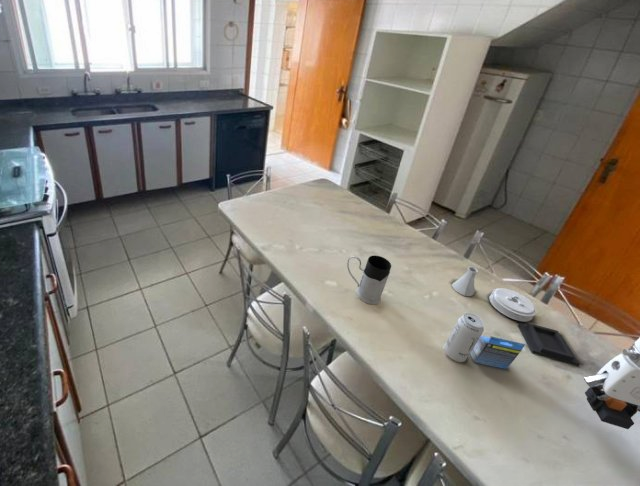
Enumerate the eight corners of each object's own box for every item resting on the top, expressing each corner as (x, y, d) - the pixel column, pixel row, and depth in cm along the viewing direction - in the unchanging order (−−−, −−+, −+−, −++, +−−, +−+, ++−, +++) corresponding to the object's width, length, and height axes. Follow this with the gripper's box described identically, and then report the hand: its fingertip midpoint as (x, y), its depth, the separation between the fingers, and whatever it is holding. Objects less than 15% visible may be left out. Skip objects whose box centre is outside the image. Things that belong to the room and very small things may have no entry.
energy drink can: (458, 368, 94) (479, 332, 87) (438, 351, 99) (457, 316, 92) (468, 358, 97) (490, 324, 90) (448, 343, 102) (467, 308, 95)
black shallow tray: (559, 336, 107) (563, 331, 106) (578, 366, 98) (583, 361, 97) (517, 325, 110) (520, 319, 109) (531, 352, 101) (535, 347, 100)
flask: (461, 281, 128) (471, 261, 123) (478, 294, 122) (489, 274, 117) (447, 284, 126) (457, 264, 121) (463, 298, 120) (474, 277, 115)
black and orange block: (608, 399, 81) (620, 387, 79) (628, 429, 75) (641, 417, 73) (584, 392, 83) (595, 380, 80) (601, 421, 77) (613, 409, 74)
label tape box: (499, 360, 98) (518, 332, 92) (506, 372, 94) (526, 344, 89) (467, 353, 99) (484, 325, 93) (473, 365, 96) (491, 337, 90)
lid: (480, 298, 120) (485, 288, 118) (504, 292, 124) (510, 282, 122) (514, 326, 109) (521, 316, 107) (539, 319, 113) (547, 309, 111)
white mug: (378, 308, 112) (391, 275, 105) (338, 291, 118) (347, 258, 111) (382, 292, 119) (395, 260, 112) (344, 276, 125) (353, 245, 118)
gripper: (616, 363, 70) (571, 412, 78) (722, 392, 65) (663, 440, 74) (595, 335, 76) (555, 382, 84) (691, 359, 71) (639, 407, 80)
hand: (606, 409), depth 79 cm, fingers closed on black and orange block, 5 cm apart
